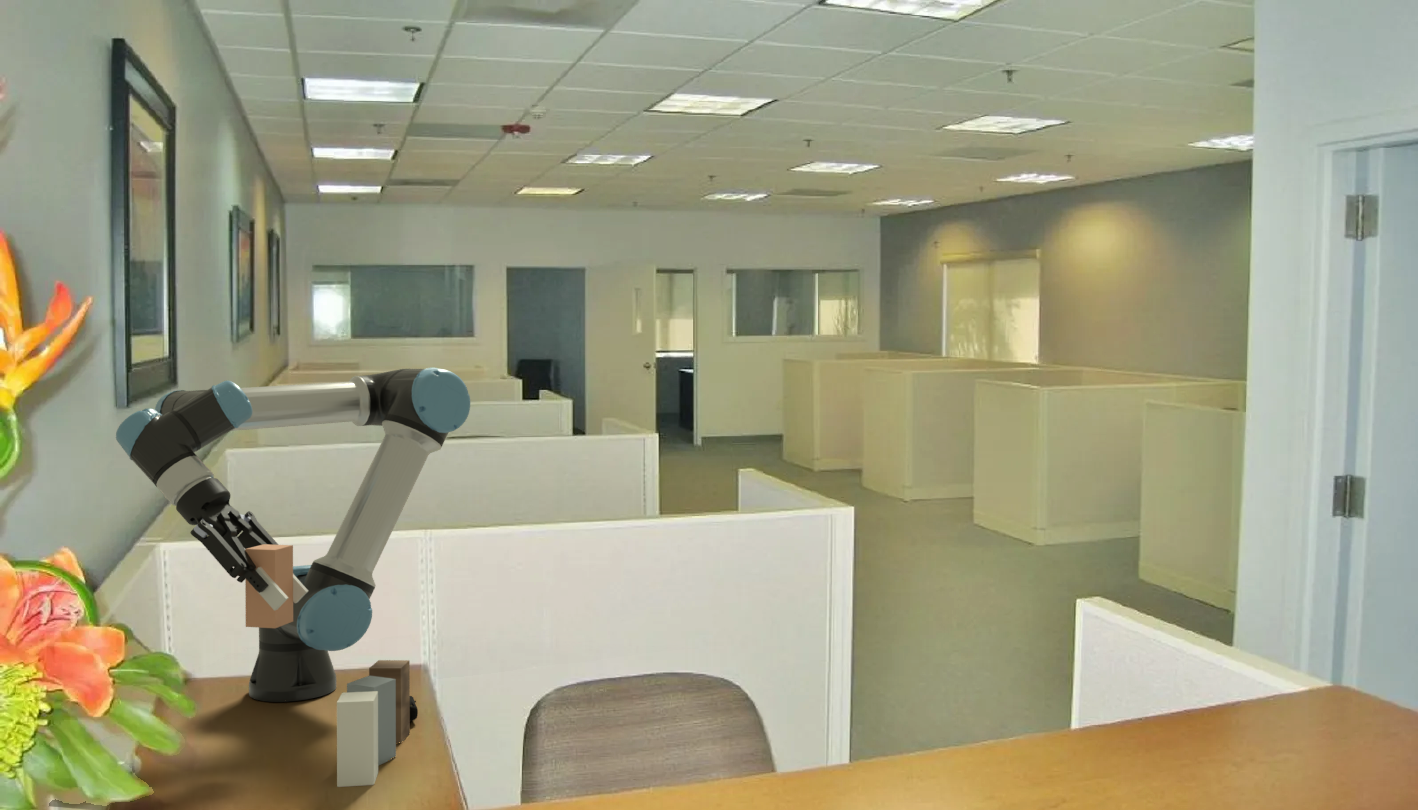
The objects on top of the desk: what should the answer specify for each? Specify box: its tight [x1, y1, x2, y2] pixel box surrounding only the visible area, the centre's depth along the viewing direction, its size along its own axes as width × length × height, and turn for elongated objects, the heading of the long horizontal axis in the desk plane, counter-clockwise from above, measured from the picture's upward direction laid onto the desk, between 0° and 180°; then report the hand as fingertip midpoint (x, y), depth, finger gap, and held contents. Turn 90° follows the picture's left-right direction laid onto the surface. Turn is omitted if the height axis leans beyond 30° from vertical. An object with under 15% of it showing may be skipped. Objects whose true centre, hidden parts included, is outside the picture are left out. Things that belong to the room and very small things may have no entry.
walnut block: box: [368, 659, 411, 744], centre depth 179 cm, size 5×5×12 cm
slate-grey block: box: [346, 675, 397, 767], centre depth 169 cm, size 5×5×12 cm
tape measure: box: [410, 695, 419, 722], centre depth 189 cm, size 7×7×4 cm
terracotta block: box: [244, 544, 294, 629], centre depth 174 cm, size 5×5×12 cm
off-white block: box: [336, 691, 379, 788], centre depth 161 cm, size 5×5×12 cm
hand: (291, 600), depth 173 cm, fingers closed on terracotta block, 5 cm apart
